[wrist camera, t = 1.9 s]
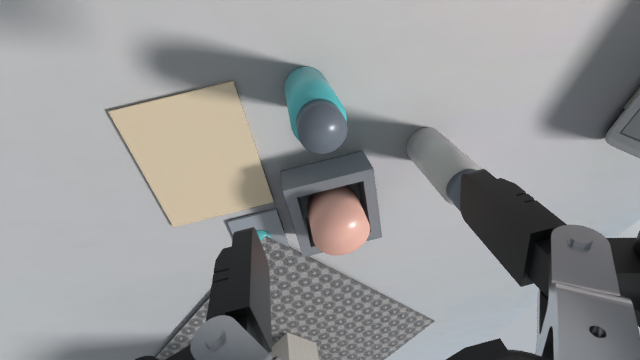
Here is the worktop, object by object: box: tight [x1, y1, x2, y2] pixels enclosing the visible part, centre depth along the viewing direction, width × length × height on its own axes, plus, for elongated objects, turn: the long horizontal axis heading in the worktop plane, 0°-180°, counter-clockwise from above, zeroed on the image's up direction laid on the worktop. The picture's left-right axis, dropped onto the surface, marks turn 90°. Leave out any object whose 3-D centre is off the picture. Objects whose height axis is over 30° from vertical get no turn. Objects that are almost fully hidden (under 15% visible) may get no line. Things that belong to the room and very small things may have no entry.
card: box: [227, 209, 289, 247], centre depth 35 cm, size 6×5×1 cm
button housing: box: [281, 151, 382, 257], centre depth 32 cm, size 8×8×4 cm
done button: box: [307, 186, 370, 255], centre depth 30 cm, size 5×5×4 cm
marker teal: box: [284, 67, 348, 154], centre depth 24 cm, size 4×4×9 cm
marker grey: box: [406, 127, 482, 211], centre depth 28 cm, size 4×4×9 cm
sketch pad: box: [109, 81, 274, 227], centre depth 29 cm, size 12×10×1 cm
